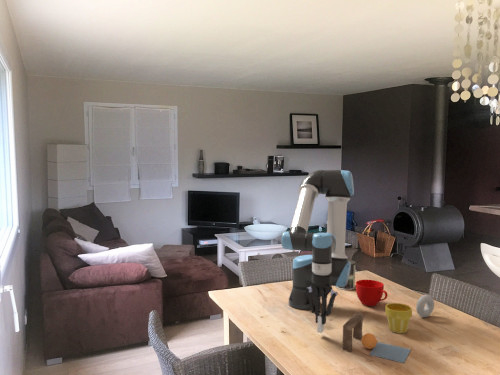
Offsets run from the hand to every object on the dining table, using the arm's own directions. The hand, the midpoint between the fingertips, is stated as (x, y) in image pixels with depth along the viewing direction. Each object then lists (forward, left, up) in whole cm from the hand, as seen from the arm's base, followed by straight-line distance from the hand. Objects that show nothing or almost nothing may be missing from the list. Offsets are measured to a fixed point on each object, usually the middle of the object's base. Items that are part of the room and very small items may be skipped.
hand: (320, 331), depth 173 cm
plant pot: (+25, +22, -2) cm, 33 cm away
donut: (+32, +43, -2) cm, 54 cm away
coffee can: (-12, +66, -2) cm, 67 cm away
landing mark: (+27, 0, -2) cm, 27 cm away
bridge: (+13, 0, -2) cm, 13 cm away
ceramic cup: (+8, +46, -2) cm, 47 cm away
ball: (+19, -1, +1) cm, 20 cm away
